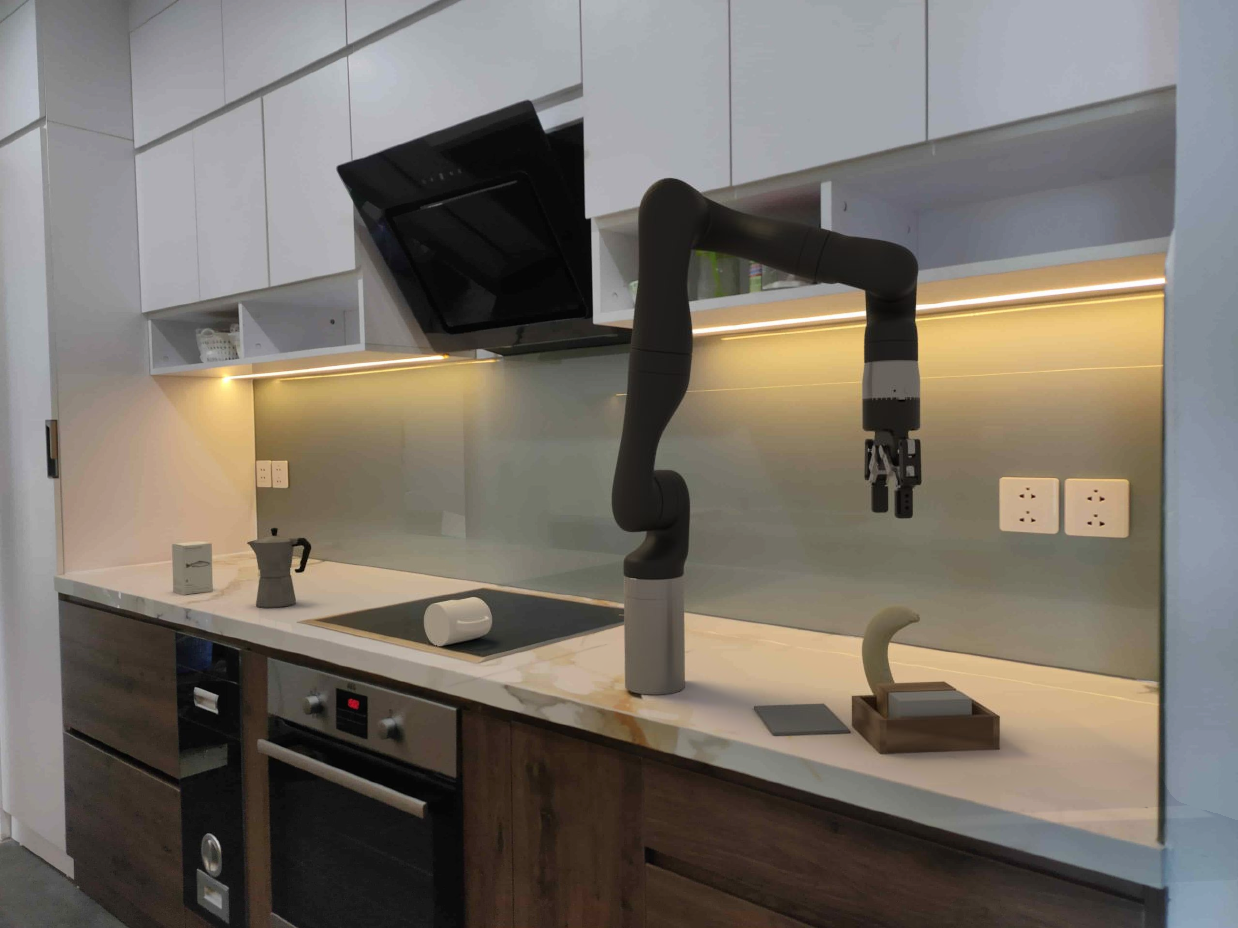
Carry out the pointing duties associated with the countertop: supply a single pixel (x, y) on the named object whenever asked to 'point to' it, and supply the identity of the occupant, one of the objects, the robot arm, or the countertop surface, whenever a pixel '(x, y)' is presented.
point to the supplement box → (192, 567)
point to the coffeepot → (277, 568)
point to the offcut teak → (888, 688)
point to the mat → (800, 719)
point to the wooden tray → (925, 729)
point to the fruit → (883, 642)
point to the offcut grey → (929, 704)
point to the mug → (457, 621)
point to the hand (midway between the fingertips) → (891, 515)
